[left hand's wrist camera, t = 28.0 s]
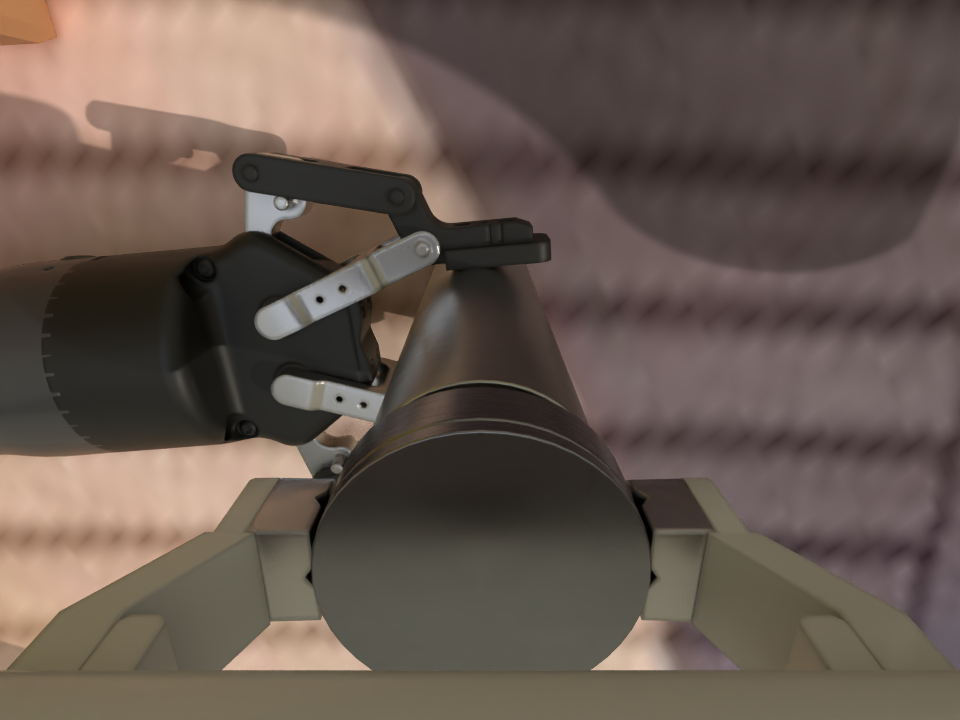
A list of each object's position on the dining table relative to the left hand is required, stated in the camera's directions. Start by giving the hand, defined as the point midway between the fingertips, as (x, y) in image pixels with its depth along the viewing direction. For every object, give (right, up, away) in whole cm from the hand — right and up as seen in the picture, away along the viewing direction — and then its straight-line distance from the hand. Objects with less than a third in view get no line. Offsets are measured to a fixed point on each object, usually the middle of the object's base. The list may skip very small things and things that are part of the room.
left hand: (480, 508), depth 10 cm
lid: (0, -1, -1) cm, 2 cm away
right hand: (+3, +4, +11) cm, 12 cm away
